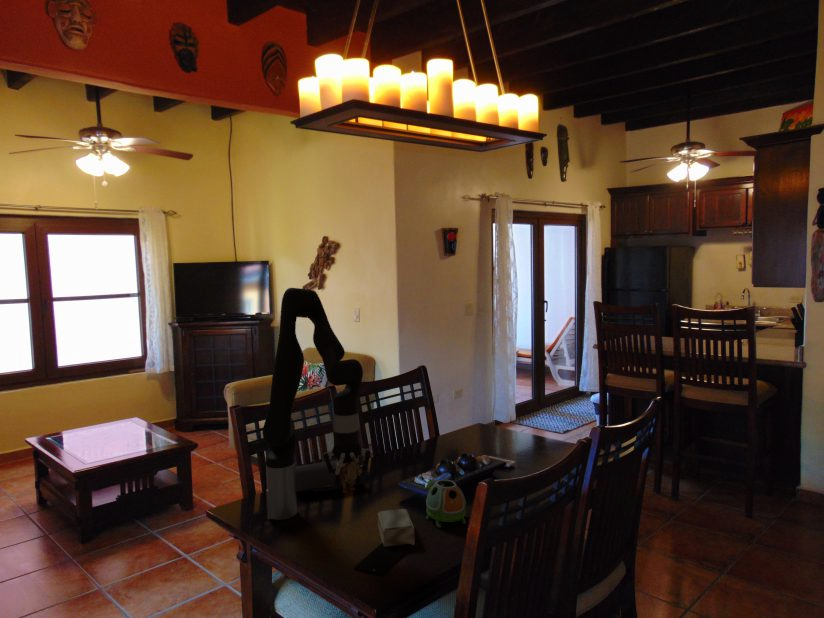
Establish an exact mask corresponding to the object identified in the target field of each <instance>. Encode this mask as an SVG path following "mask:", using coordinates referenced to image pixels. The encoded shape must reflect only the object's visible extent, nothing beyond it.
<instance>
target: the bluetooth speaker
mask: <svg viewBox="0 0 824 618" xmlns="http://www.w3.org/2000/svg"><path fill="white" fill-rule="evenodd" d="M330 461H331V464H332V467H333V468H335V467H336V464H337V460H333V461H332V460H330ZM347 463H348V462H347ZM295 482H296V492H300V491H302V492H304V491H313V493H319V492H318V491H320V492H325V491H326V492H327V491H333V490H338V489H341V487H343V484H342V477H341V476H340V487H338V485H336V484H335V474H334V473H329V471H328V467H327V464H326V461H322V462H315V463H310V464H304V465H303V464H302V465H297V466H295ZM353 484H355V479H354V482H353ZM347 485H350V483H348V482H346V486H347Z"/></svg>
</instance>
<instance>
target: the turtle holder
mask: <svg viewBox="0 0 824 618" xmlns="http://www.w3.org/2000/svg"><path fill="white" fill-rule="evenodd" d="M440 484H441V485H440ZM425 489H426V492H427V496H426V499H425V502H426V503H425V504H426V514H427V515H426V518H425V519H426V520H431V519H432V520H434V521H435V526H436V527H437V528H443V527H442V524H441V522H443V523H444V522H445V523H453V522H460V523H461V524H463V525H465V524H466V520H465V516H466V514H467V510H466V504H467V501H466V498H465V495H464V492H463V491H462V489H461V488H460V487H459V486H458V485H457V483H456V482H454V480H451V479H439V480H436V481H432V480H428V481H427V484H426V485H425Z"/></svg>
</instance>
